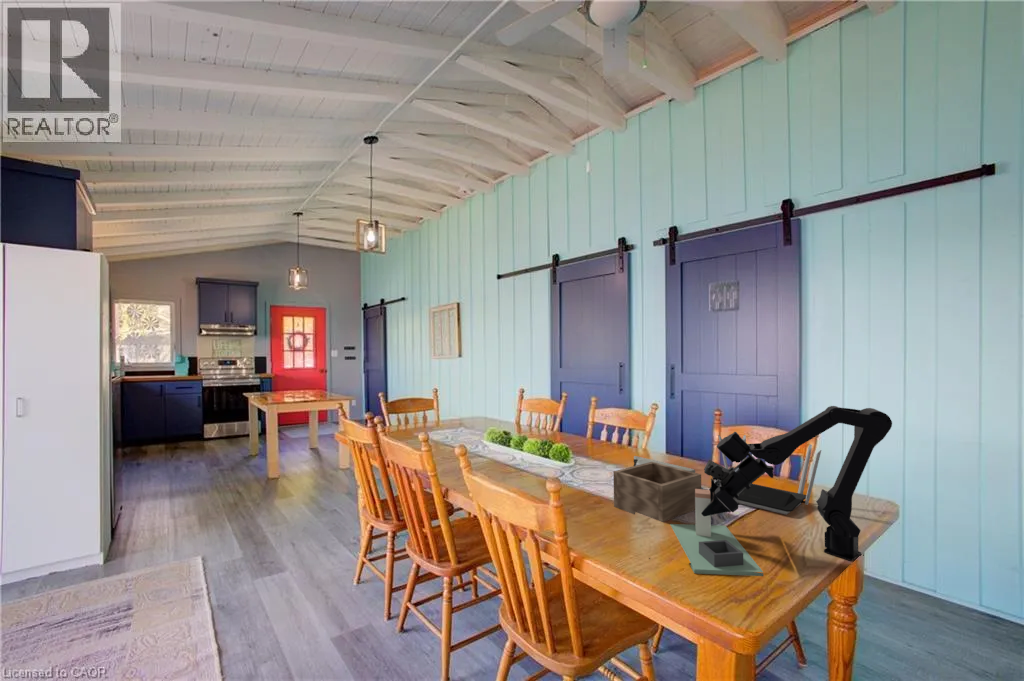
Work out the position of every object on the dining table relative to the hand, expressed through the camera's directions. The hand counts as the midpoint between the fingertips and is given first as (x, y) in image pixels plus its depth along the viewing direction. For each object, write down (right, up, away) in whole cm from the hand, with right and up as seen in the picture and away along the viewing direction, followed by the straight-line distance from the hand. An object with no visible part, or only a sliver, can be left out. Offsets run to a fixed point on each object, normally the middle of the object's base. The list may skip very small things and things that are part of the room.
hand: (702, 509), depth 137 cm
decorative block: (+5, -8, +52) cm, 53 cm away
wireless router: (+34, -7, +29) cm, 45 cm away
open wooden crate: (-6, -8, +22) cm, 25 cm away
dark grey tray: (-2, -8, -16) cm, 18 cm away
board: (-1, -8, -8) cm, 11 cm away
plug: (0, -7, 0) cm, 7 cm away
